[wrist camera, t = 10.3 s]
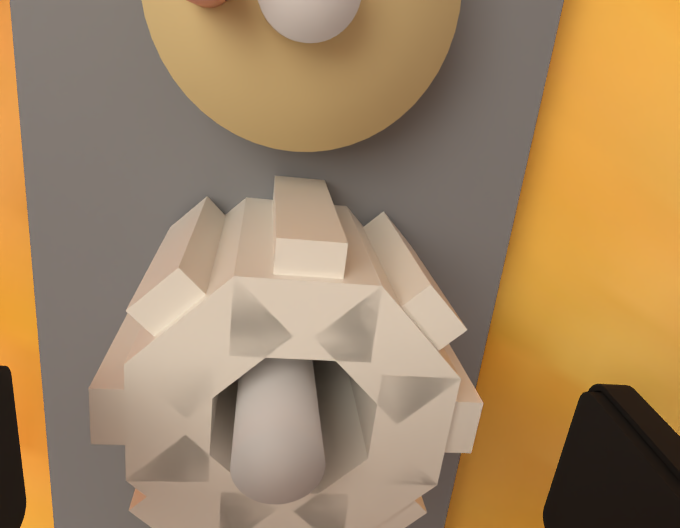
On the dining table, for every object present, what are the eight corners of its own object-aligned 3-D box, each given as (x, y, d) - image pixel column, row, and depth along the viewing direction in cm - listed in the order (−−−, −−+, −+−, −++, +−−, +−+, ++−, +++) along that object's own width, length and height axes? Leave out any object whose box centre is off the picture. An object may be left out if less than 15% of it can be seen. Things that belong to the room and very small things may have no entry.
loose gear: (443, 189, 15) (523, 260, 10) (398, 428, 17) (445, 573, 12) (144, 161, 13) (77, 226, 9) (144, 420, 16) (93, 576, 11)
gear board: (561, -119, 14) (862, -279, 7) (416, 565, 21) (486, 820, 14) (22, -210, 12) (-324, -551, 5) (76, 569, 20) (-31, 861, 13)
